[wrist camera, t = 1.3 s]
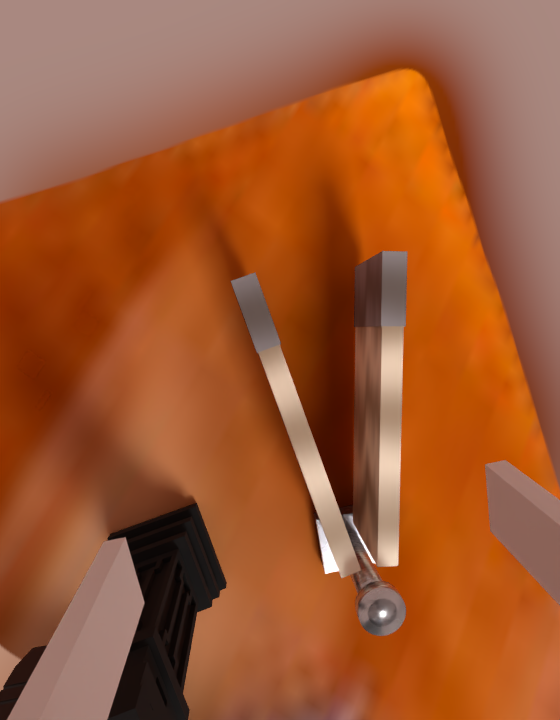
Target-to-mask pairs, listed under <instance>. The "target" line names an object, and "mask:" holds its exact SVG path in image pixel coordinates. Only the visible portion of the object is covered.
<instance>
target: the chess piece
mask: <svg viewBox="0 0 560 720" xmlns="http://www.w3.org/2000/svg"><path fill="white" fill-rule="evenodd" d="M124 537H126V541H127V544H128V548H129V551H130V554H131V558H132V561H133V565H134V568H135V572H136V575H137V578H138V582H139V585H140V589H141V592H142V596H143V599H144V602H145V603H144V606H143V609H142V612H141V616H140V619H139V622H138V625H137V628H136V631H135V634H134V637H133V641H132V644H131V647H130V650H129V653H128V656H127V659H126V663H125V666H124V669H123V672H122V675H121V678H120V681H119V684H118V688H117V691H116V694H115V697H114V700H113V703H112V706H111V710H110V713H109V716H108V719H107V720H188V716H189V708H188V705H187V703H186V700H185V698H184V695H183V690H184V684H185V678H186V672H187V667H188V661H189V655H190V650H191V644H192V638H193V633H194V627H195V621H196V615H197V612H199V611H202V610H204V609H207V608H210V607H212V600H213V599H215V598H218V597H219V594H220V590H222V589H225V588H226V580H225V577H224V575H223V572H222V569H221V567H220V564H219V561H218V559H217V556H216V553H215V551H214V548H213V545H212V543H211V540H210V537H209V535H208V532H207V529H206V527H205V524H204V521H203V519H202V516H201V513H200V511H199V508H198V505H197V503H195V504H192V505H189V506H187V507H184V508H181V509H178V510H176V511H173V512H170V513H167V514H165V515H162V516H159V517H156V518H154V519H151V520H148V521H145V522H143V523H140V524H137V525H134V526H131V527H129V528H126V529H123V530H120V531H118V532H115V533H112V534H110V535H109V537H108V538H107V539H108V541H109V540H114V539H119V538H124Z"/></svg>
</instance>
